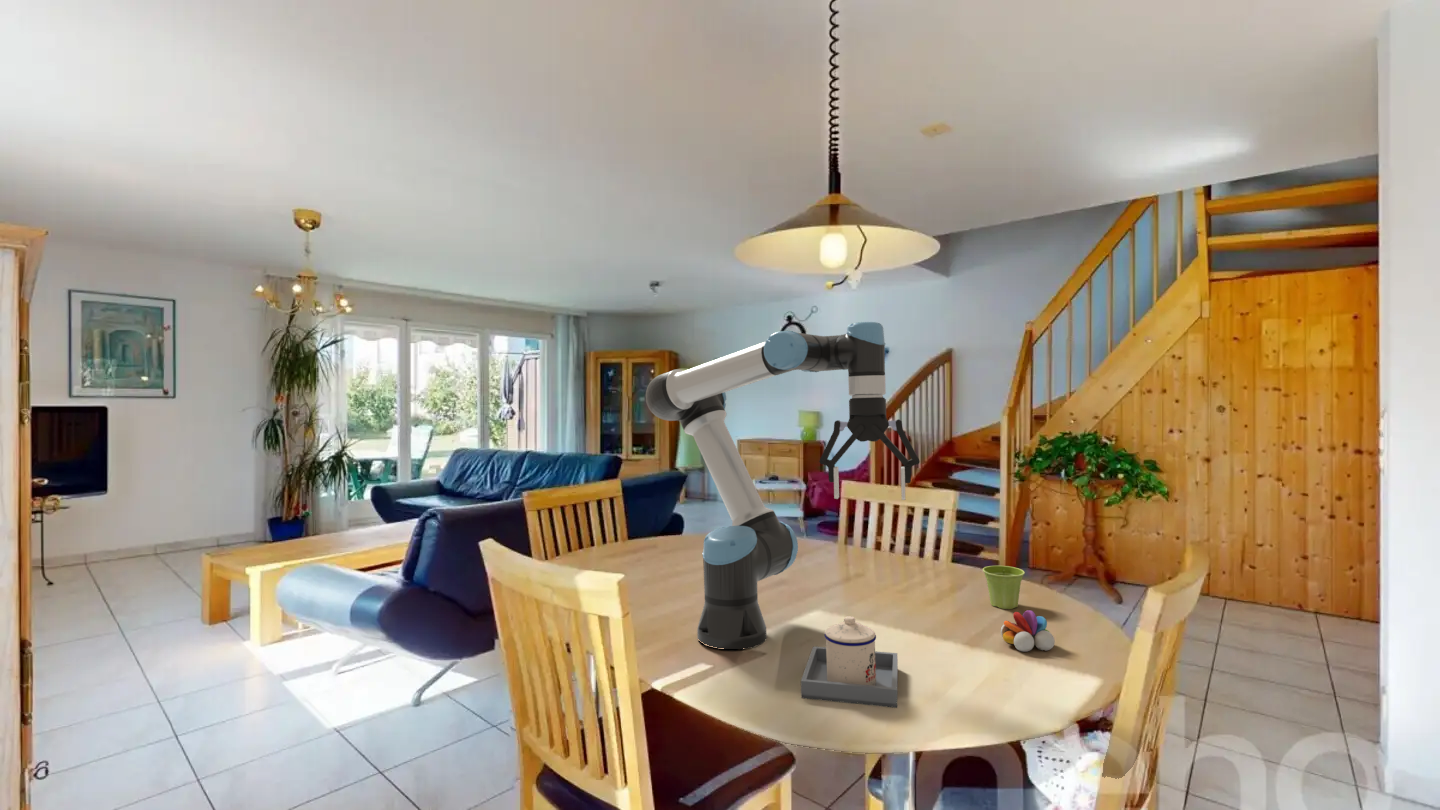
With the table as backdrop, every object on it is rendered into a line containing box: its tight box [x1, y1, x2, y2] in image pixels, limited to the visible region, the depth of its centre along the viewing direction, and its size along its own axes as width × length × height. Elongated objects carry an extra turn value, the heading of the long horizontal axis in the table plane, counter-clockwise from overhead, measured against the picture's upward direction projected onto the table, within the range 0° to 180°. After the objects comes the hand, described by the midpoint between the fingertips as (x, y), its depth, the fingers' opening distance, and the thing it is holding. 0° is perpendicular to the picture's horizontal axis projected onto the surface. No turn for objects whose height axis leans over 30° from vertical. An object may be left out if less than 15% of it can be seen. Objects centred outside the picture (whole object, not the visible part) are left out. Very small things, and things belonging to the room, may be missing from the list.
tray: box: [800, 646, 899, 709], centre depth 116 cm, size 16×16×3 cm
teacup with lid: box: [824, 615, 877, 686], centre depth 116 cm, size 12×9×12 cm
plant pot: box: [982, 565, 1026, 610], centre depth 157 cm, size 9×9×9 cm
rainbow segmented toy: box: [1000, 609, 1056, 653], centre depth 131 cm, size 8×10×7 cm
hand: (869, 498), depth 133 cm, fingers open, 13 cm apart
